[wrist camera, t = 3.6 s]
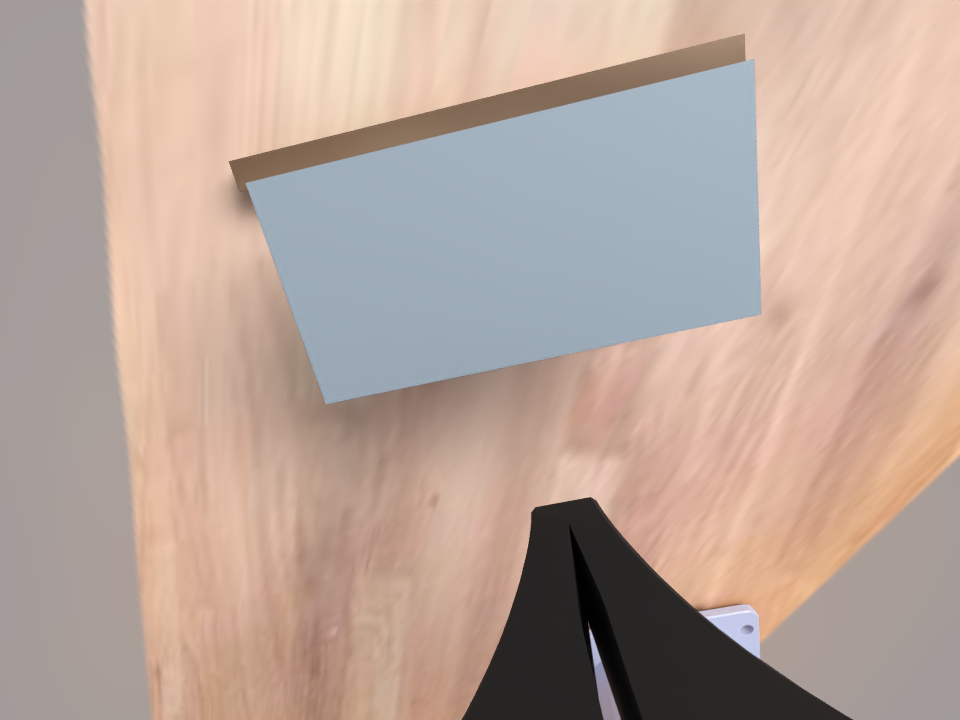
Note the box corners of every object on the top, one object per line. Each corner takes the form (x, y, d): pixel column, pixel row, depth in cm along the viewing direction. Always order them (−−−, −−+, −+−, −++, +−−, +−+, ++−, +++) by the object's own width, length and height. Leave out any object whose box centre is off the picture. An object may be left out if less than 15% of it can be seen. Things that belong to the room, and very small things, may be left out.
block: (636, 251, 16) (761, 314, 9) (391, 305, 16) (325, 403, 9) (621, 113, 15) (754, 59, 7) (354, 177, 15) (245, 182, 8)
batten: (728, 75, 14) (745, 68, 13) (254, 190, 15) (239, 191, 14) (726, 42, 14) (744, 33, 13) (244, 162, 15) (228, 161, 14)
